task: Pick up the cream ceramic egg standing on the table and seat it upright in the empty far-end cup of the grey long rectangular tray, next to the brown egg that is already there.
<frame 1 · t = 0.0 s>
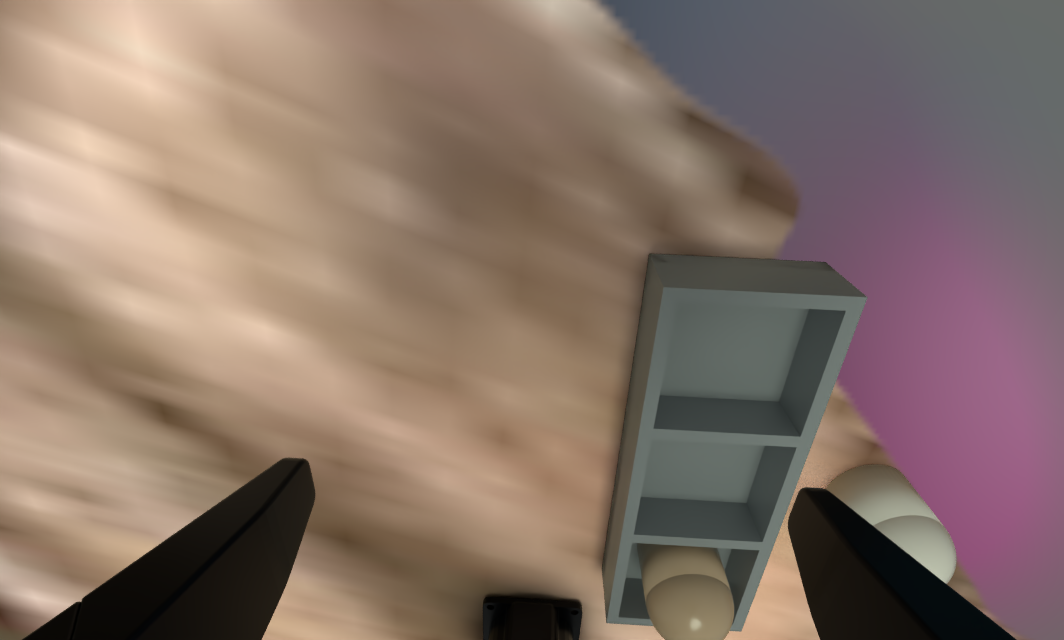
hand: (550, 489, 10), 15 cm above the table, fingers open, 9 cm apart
cream egg: (864, 493, 29), on the table
brown egg: (675, 545, 30), point 1 cm above the table, touching grey long rectangular tray
grey long rectangular tray: (693, 443, 28), on the table
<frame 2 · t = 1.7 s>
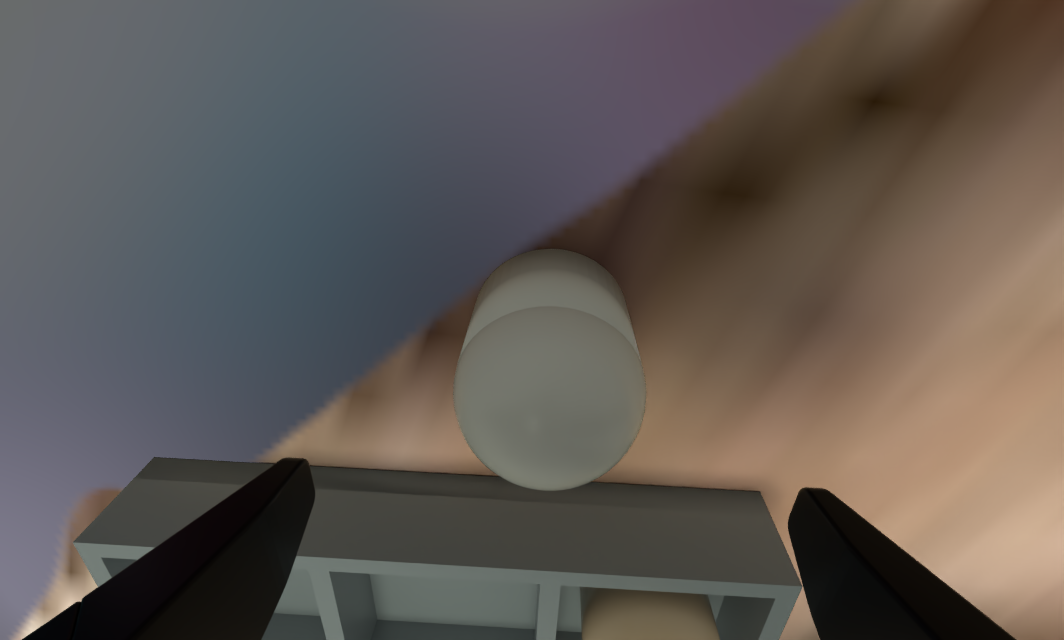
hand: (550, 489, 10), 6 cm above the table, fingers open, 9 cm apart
cream egg: (550, 320, 15), on the table
brown egg: (640, 583, 19), point 1 cm above the table, touching grey long rectangular tray
grey long rectangular tray: (457, 548, 20), on the table
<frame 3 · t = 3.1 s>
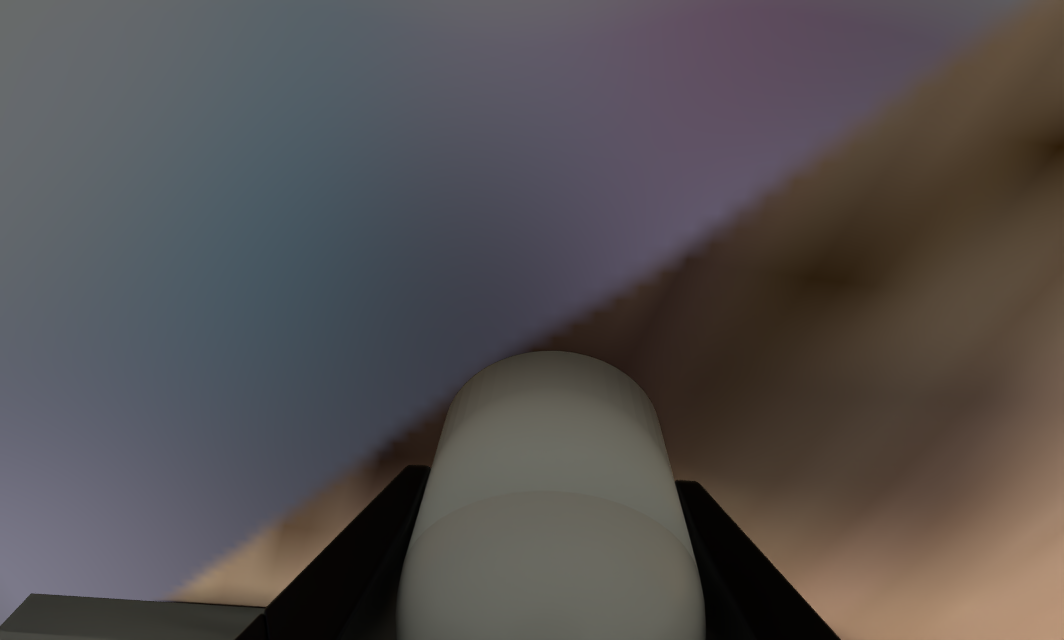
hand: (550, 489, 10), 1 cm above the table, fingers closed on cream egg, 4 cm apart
cream egg: (551, 442, 11), on the table, touching gripper
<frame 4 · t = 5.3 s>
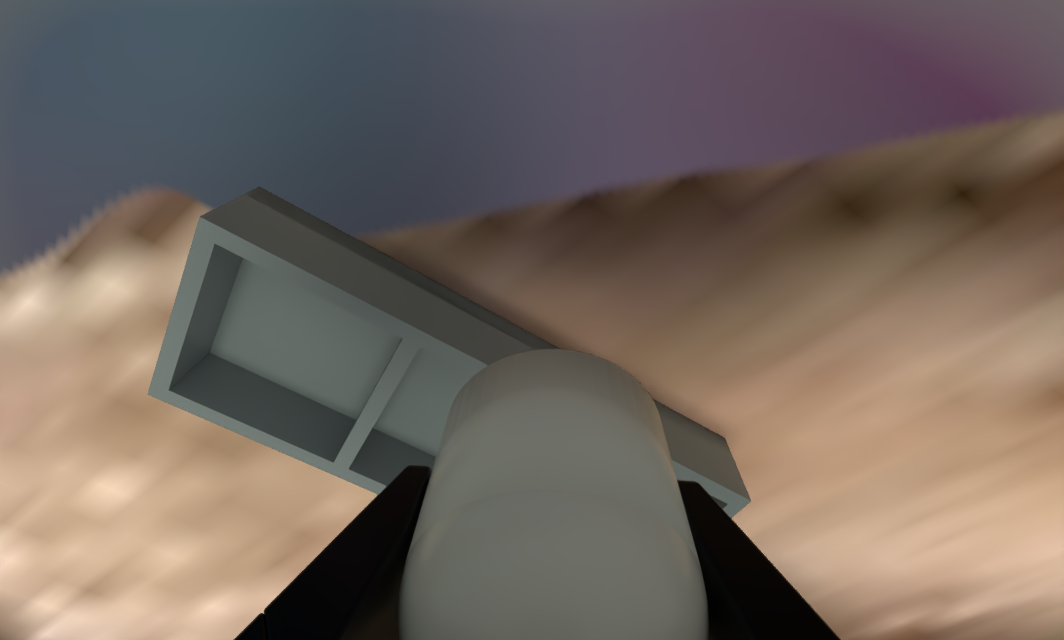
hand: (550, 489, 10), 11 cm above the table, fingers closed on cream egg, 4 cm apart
cream egg: (553, 440, 11), point 10 cm above the table, touching gripper
grey long rectangular tray: (472, 392, 22), on the table
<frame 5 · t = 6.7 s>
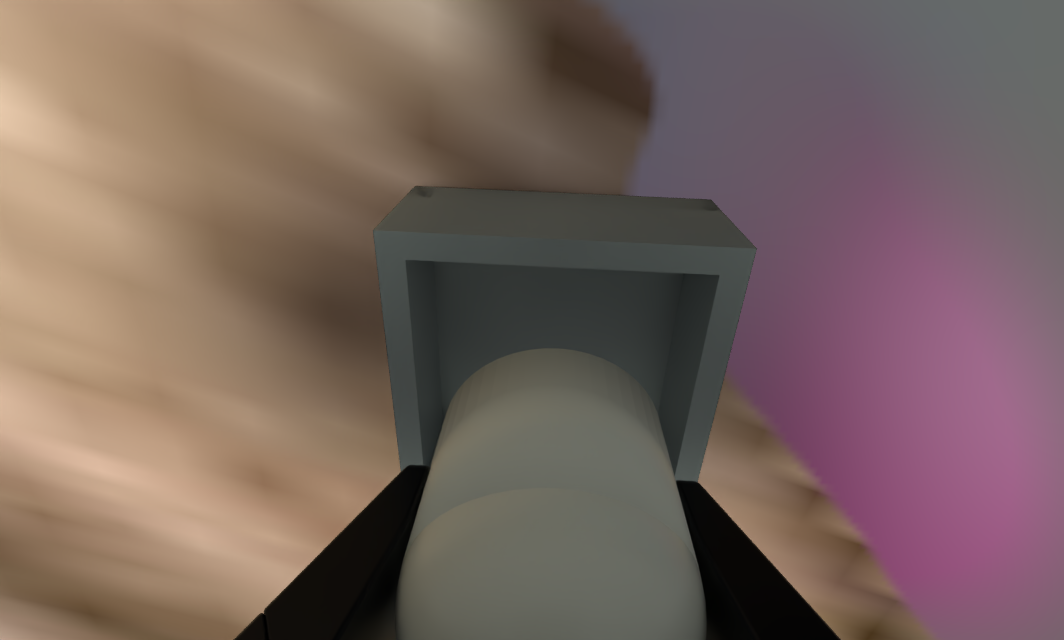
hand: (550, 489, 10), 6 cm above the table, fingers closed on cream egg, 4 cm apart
cream egg: (551, 440, 11), point 5 cm above the table, touching gripper
grey long rectangular tray: (543, 488, 18), on the table
when the fingers open (4 cm above the table, at t = 7.8 s): cream egg drops 2 cm, resting on grey long rectangular tray.
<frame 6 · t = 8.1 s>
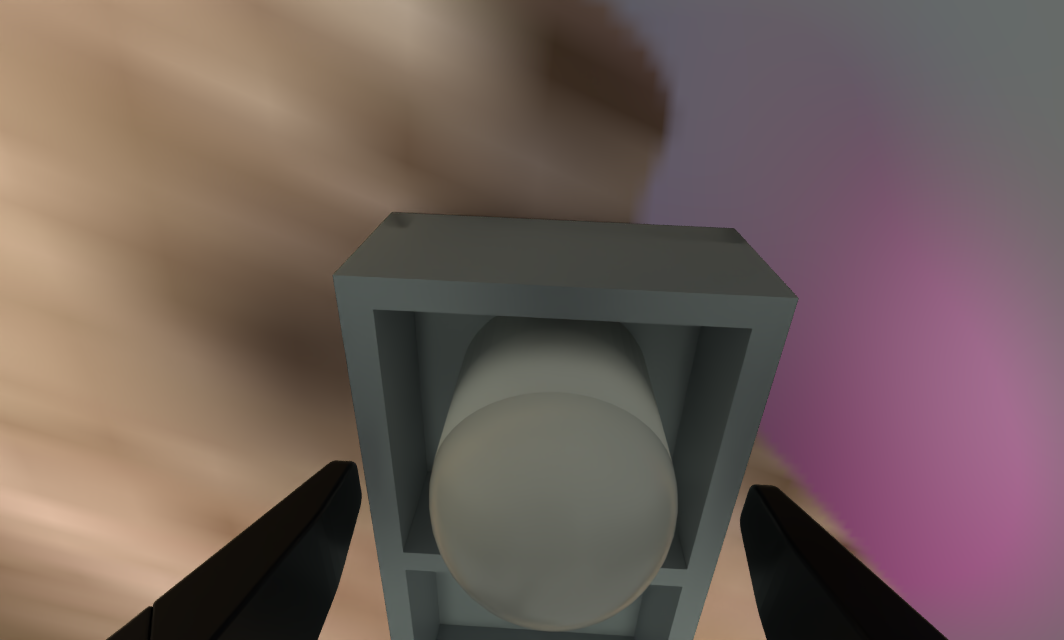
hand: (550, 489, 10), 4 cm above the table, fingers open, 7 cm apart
cream egg: (553, 381, 12), point 1 cm above the table, touching grey long rectangular tray
grey long rectangular tray: (541, 540, 17), on the table
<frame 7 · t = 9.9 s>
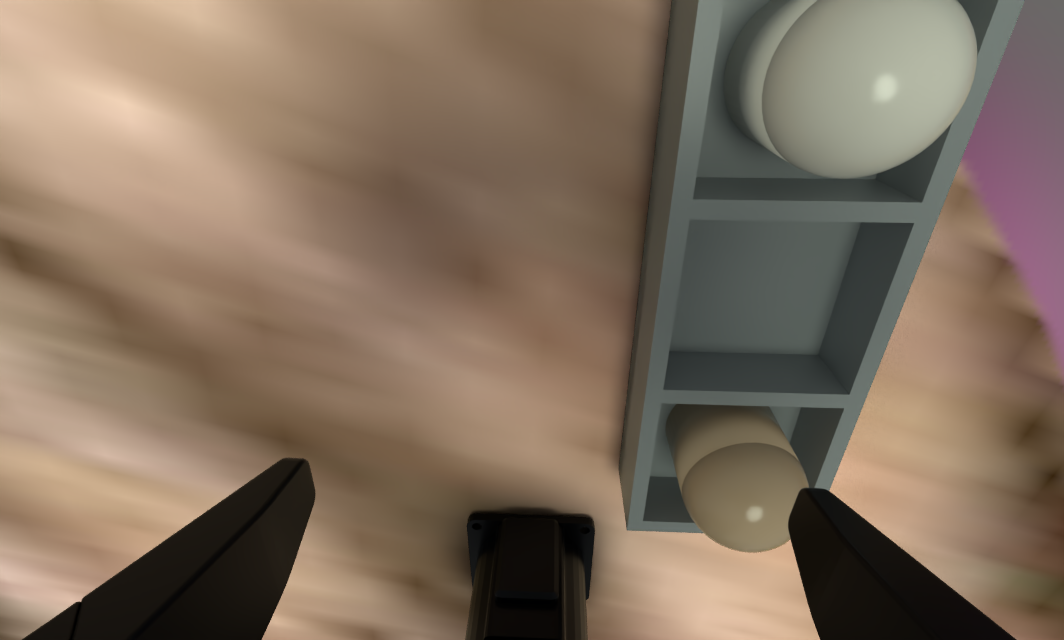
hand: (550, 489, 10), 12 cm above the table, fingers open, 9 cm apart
cream egg: (800, 71, 16), point 1 cm above the table, touching grey long rectangular tray
brown egg: (717, 425, 22), point 1 cm above the table, touching grey long rectangular tray
grey long rectangular tray: (742, 269, 20), on the table
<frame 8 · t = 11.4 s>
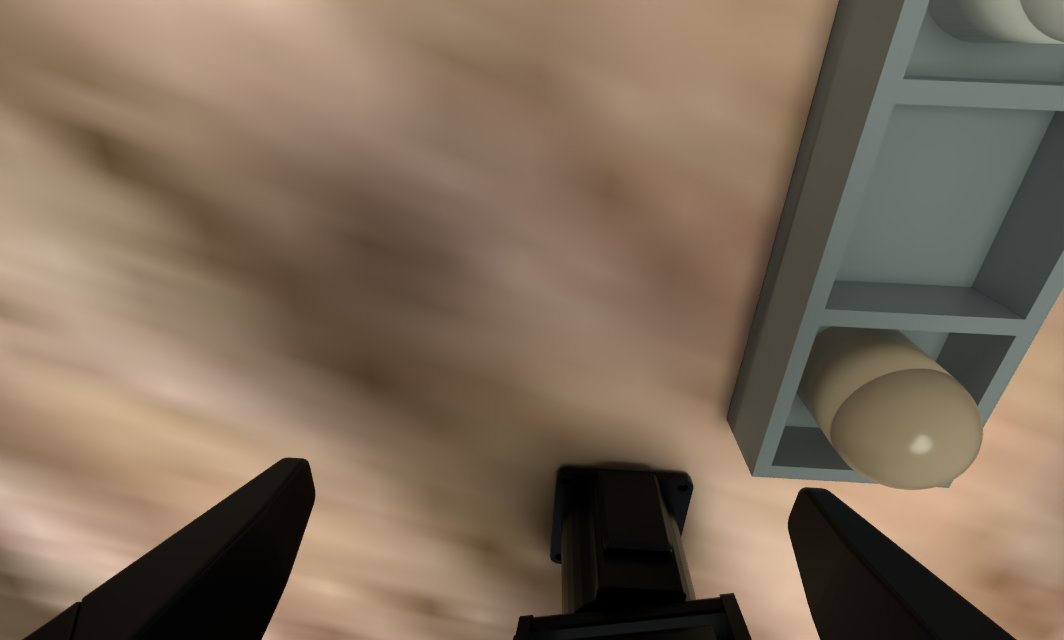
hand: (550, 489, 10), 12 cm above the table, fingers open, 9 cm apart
brown egg: (849, 367, 21), point 1 cm above the table, touching grey long rectangular tray
grey long rectangular tray: (898, 190, 19), on the table
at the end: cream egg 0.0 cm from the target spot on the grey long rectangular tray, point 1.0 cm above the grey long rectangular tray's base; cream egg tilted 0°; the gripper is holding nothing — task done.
